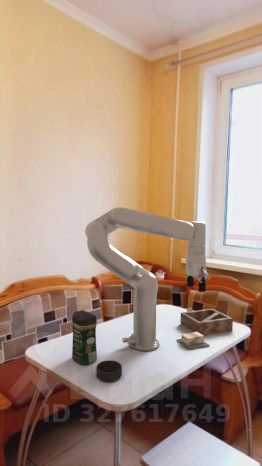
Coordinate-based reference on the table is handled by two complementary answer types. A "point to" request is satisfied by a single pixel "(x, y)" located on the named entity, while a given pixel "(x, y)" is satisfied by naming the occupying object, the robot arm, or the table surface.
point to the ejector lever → (210, 317)
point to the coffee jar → (84, 337)
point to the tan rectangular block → (192, 338)
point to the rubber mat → (193, 345)
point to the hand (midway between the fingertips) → (196, 289)
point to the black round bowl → (109, 371)
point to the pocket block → (206, 322)
